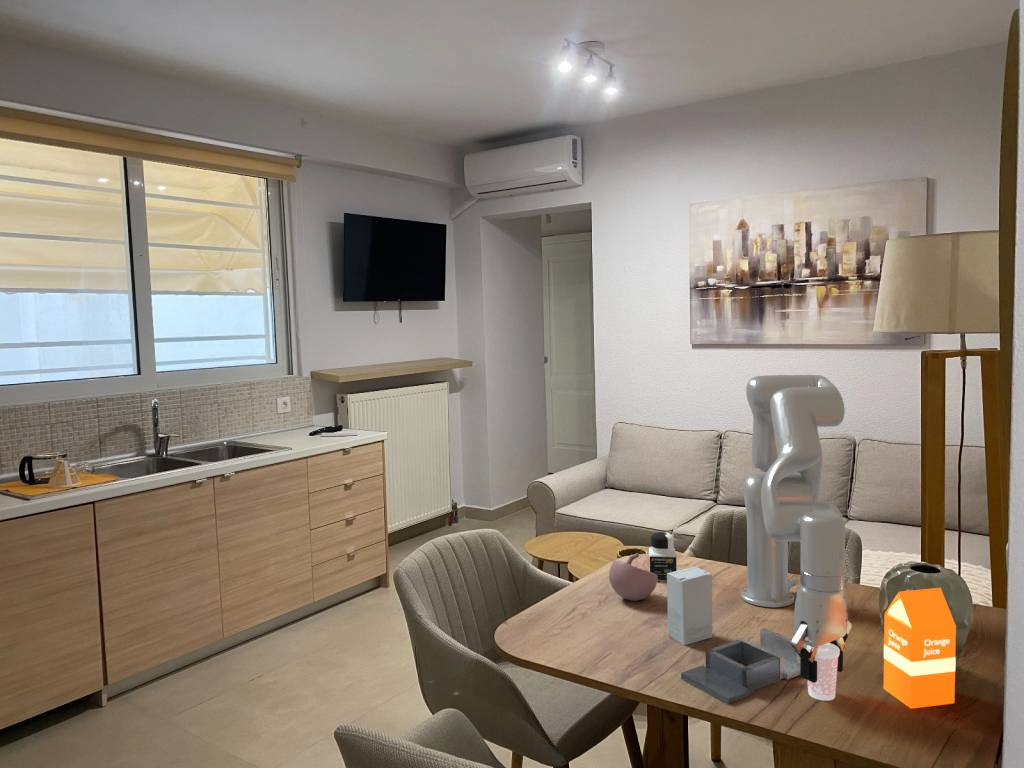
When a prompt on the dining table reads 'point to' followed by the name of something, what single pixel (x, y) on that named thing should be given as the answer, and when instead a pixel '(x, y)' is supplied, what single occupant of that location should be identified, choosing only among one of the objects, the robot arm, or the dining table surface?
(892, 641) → the orange juice
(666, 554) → the medicine bottle
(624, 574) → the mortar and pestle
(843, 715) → the dining table surface
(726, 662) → the fixed leaf
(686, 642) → the skincare box
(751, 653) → the gray u-channel trough
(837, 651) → the beverage cup
